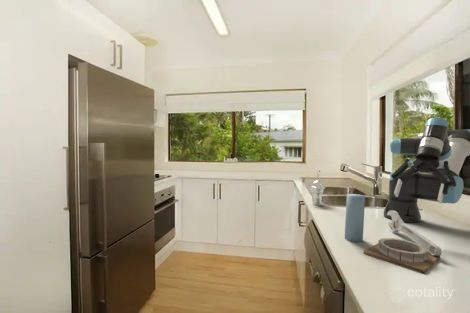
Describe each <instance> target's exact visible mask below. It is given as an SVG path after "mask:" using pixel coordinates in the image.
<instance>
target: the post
mask: <svg viewBox="0 0 470 313" xmlns="http://www.w3.org/2000/svg"><path fill="white" fill-rule="evenodd" d="M345 201H346V206H345V223H344V239H345V240H346V241H349V242H353V243H363V240H364V224H365V207H366V206H365V204H366V196H365V195H363V194H358V193H347V194H346V200H345Z"/></svg>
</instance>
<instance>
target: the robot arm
mask: <svg viewBox="0 0 470 313" xmlns="http://www.w3.org/2000/svg"><path fill="white" fill-rule="evenodd" d="M389 149H390V153H392V154H393V155H395V154H396V155H408V156H409V155H410V156H411V155H412V156H413V155H415V158H414V160H412V159H411V160H410V159H409V158H406V159H405V160H404V162H403V163H402V164H401V165H400V166H399V167H398V168H397V169H396V170H393V171H391V172H390V175H389V179H388V181H389V182H388V183H389V184H388V201H387V202H386V205H385V207H384V209H383V217H385V218H387V219H390V220H392V218H391V216H390V215H387V213H388V212H389V211H390V210H392V211H396V212H397V213H398V214H399V216H400V218H401V219H402V221H403V222H404V223H420V222H422V215H421V212H420V209H419V205H418V200H423V201H424V200H425V201H430V202H436V203H438V204H442V203H443V204H456V203H458V202H459V201H460V200H461V198H462V194H463V191H464V180H463V178H462V177H460V173H461V172H460V171H461V169H462V167H463V164H464V162H465V159H466V157H468V156H470V129H468V128H467V129H449V122H448V120H447V119H446V118H443V117H432V118H429V119H428V120H426V122H425V125H424V126H423V132H422V133H420V134H418V135H416V136H411V137H403V138H402V137H396V138H392V140H391V141H390V146H389ZM409 167H410V168H409Z"/></svg>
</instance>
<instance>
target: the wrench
mask: <svg viewBox="0 0 470 313" xmlns="http://www.w3.org/2000/svg"><path fill="white" fill-rule="evenodd" d="M387 215H390V216H391V218H392V219H391V222H388V223H387V225H388V227H389V228H390V229H391V231H392V234H398V232H401V233H403V234H404V235H405V236H406V237H408V238H409V239H411V240H412V242H414V243H417V244H419V245H421V246H423V247H425V248H426V250H427V252H429V253H430V254H431V255H433V256H440V257H441V256H442V248H441V247H440V246H439V245H438V244H436V243H435V242H433V241H431V240H430V239H428V238H426V236H424V235H422V234H421V233H419V232H418V231H416V230H415V229H413V228H412V227H410V226H408V225H407V224H406V222H403V221H402V219H401V218H400V216H399V214H398V213H397V212H396V211H392V210H390V211H389V212H388V213H387Z"/></svg>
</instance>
